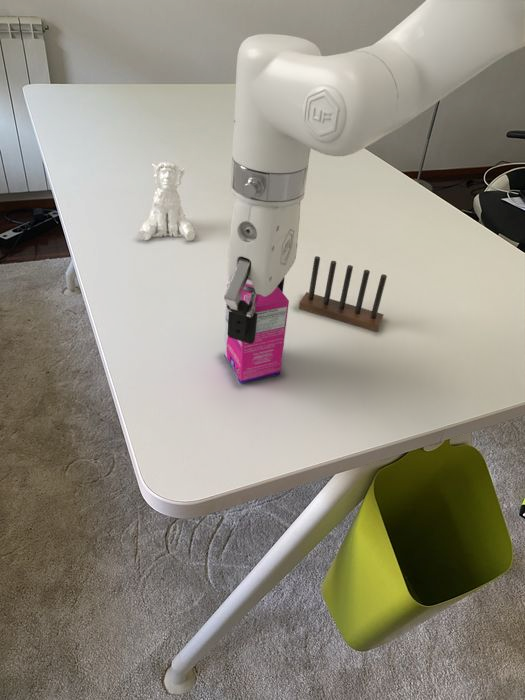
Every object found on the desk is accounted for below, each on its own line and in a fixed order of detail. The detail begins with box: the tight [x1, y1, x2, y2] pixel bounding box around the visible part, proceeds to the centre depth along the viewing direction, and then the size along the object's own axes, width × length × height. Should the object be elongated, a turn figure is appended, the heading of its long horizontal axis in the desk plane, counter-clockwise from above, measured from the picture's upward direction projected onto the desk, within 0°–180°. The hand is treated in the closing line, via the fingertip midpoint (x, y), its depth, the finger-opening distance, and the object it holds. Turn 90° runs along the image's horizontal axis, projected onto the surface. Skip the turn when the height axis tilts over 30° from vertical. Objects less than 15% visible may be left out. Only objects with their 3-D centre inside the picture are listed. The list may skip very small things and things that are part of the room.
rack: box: [298, 255, 388, 333], centre depth 79 cm, size 12×3×8 cm, turn 68°
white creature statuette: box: [138, 161, 196, 242], centre depth 94 cm, size 10×9×12 cm
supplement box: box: [223, 280, 290, 384], centre depth 67 cm, size 6×6×12 cm
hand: (255, 319), depth 66 cm, fingers closed on supplement box, 8 cm apart
